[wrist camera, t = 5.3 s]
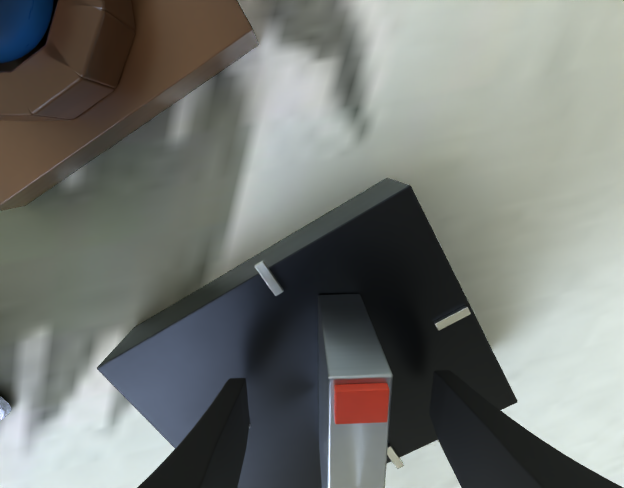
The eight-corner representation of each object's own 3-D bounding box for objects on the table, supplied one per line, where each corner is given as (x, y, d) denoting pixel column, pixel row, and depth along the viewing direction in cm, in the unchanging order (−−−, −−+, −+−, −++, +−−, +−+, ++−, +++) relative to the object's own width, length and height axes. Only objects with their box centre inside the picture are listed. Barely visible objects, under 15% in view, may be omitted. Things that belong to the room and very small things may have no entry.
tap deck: (262, 471, 18) (255, 535, 15) (129, 321, 15) (86, 364, 12) (483, 363, 17) (523, 410, 14) (383, 169, 14) (407, 176, 11)
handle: (354, 445, 14) (380, 586, 10) (319, 447, 14) (328, 589, 10) (360, 293, 12) (396, 382, 7) (318, 294, 12) (328, 384, 7)
